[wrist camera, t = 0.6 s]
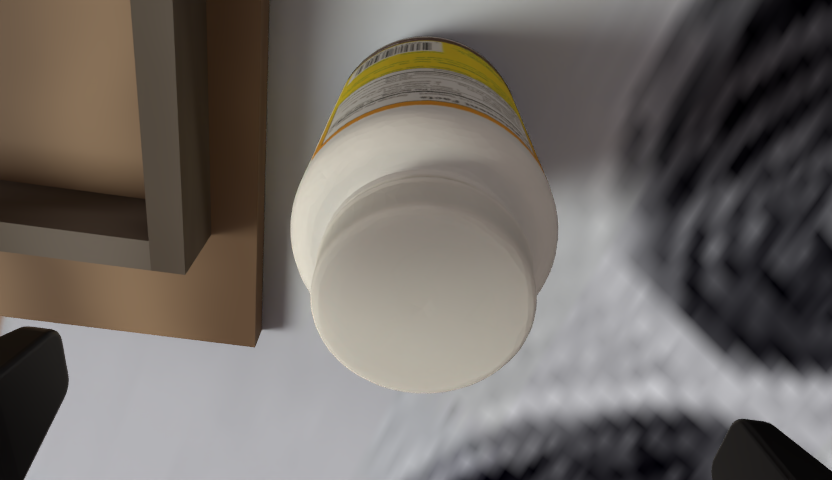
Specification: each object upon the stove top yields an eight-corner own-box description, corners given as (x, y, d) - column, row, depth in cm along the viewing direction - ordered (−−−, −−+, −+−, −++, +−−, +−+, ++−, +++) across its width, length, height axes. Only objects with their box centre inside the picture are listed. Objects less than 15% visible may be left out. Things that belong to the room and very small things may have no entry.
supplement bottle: (450, 230, 22) (463, 468, 13) (307, 147, 20) (208, 348, 11) (551, 95, 19) (655, 271, 10) (397, -9, 18) (363, 89, 9)
